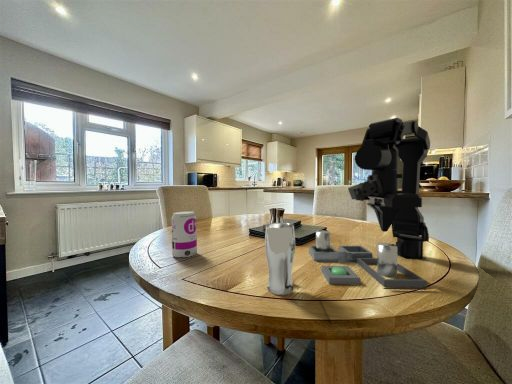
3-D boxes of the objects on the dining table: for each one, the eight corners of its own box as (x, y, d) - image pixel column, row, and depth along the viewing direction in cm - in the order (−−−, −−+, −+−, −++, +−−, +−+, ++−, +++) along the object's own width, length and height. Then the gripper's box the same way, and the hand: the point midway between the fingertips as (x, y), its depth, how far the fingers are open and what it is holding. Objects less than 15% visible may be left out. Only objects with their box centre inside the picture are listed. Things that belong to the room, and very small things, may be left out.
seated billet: (327, 254, 69) (327, 230, 69) (332, 259, 65) (332, 233, 64) (314, 254, 69) (314, 230, 69) (317, 259, 65) (317, 233, 65)
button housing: (348, 275, 55) (348, 266, 55) (359, 288, 48) (359, 277, 48) (321, 275, 56) (321, 265, 56) (329, 288, 49) (329, 277, 49)
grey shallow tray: (359, 254, 71) (359, 244, 71) (374, 266, 61) (374, 254, 61) (308, 254, 72) (308, 244, 72) (315, 265, 62) (314, 254, 62)
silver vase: (288, 299, 44) (287, 229, 44) (259, 291, 48) (259, 226, 47) (299, 286, 50) (299, 224, 49) (273, 279, 54) (273, 221, 53)
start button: (343, 274, 54) (343, 267, 54) (349, 281, 50) (349, 273, 50) (329, 274, 54) (329, 267, 54) (334, 281, 50) (334, 273, 50)
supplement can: (201, 253, 75) (201, 211, 74) (182, 260, 68) (181, 214, 67) (186, 249, 79) (185, 210, 79) (167, 256, 72) (166, 213, 72)
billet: (390, 272, 56) (390, 242, 56) (401, 279, 52) (401, 247, 51) (373, 271, 56) (374, 242, 56) (382, 279, 52) (383, 247, 52)
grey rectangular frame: (388, 266, 61) (389, 258, 61) (426, 291, 47) (426, 280, 47) (356, 266, 61) (356, 258, 61) (384, 291, 47) (384, 280, 47)
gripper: (339, 173, 63) (340, 224, 64) (369, 169, 44) (369, 242, 45) (377, 171, 62) (377, 223, 63) (424, 167, 43) (423, 241, 44)
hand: (384, 231), depth 54 cm, fingers closed
